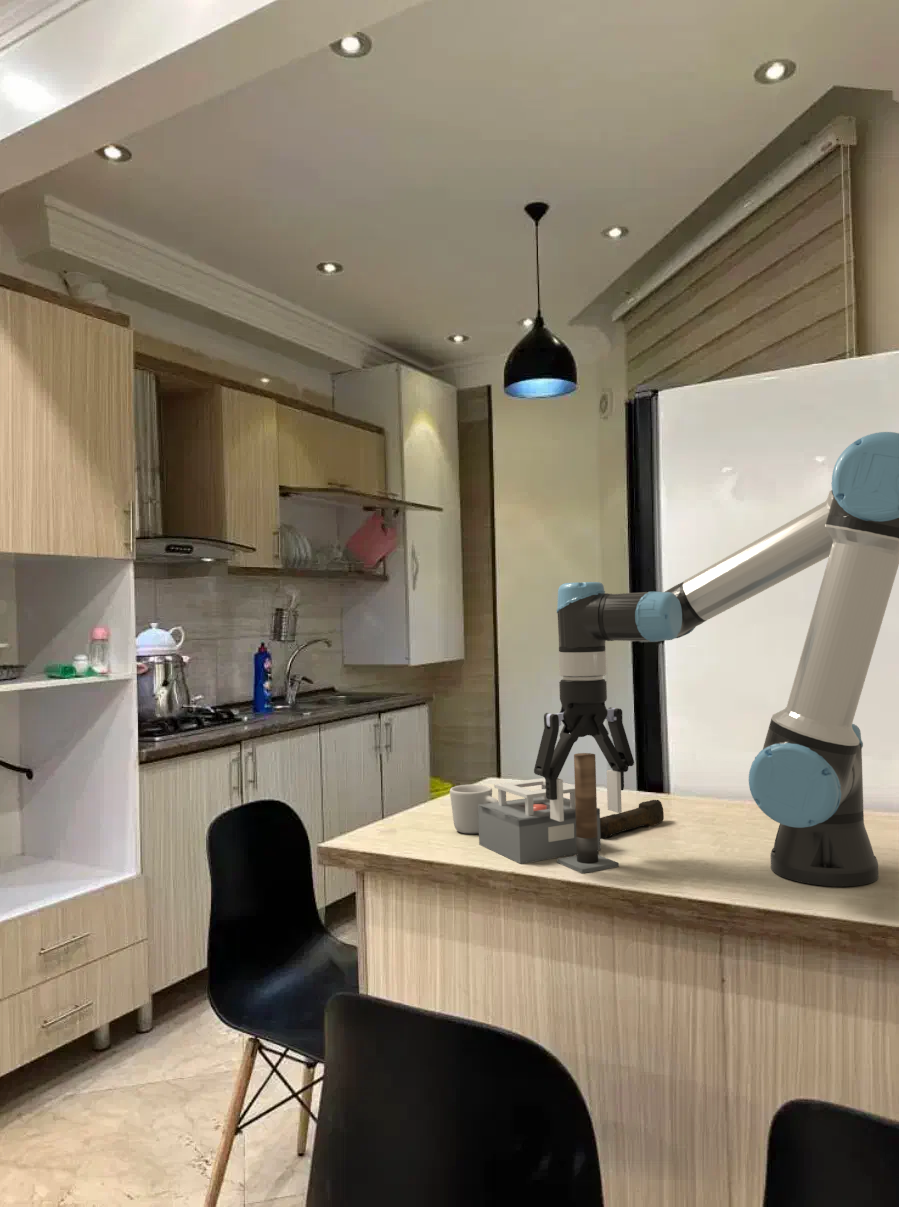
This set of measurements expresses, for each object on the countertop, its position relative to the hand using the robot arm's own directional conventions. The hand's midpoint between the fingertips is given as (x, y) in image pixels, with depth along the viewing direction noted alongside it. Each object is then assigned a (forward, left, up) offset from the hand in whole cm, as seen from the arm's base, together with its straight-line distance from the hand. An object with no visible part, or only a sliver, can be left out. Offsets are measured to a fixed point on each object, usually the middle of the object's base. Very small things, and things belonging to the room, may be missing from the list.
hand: (586, 815), depth 141 cm
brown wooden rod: (0, 0, -7) cm, 7 cm away
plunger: (+13, +1, -8) cm, 15 cm away
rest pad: (0, 0, -8) cm, 8 cm away
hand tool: (+15, -20, -8) cm, 26 cm away
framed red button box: (+13, +1, -8) cm, 15 cm away
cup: (+28, +5, -8) cm, 30 cm away
